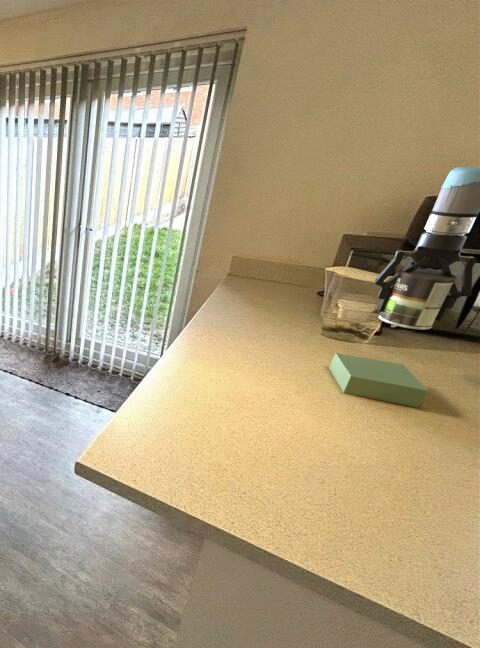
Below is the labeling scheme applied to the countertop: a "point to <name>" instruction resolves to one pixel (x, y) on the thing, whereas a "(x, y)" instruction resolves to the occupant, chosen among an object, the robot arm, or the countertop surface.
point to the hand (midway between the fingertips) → (407, 314)
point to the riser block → (377, 380)
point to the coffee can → (416, 298)
